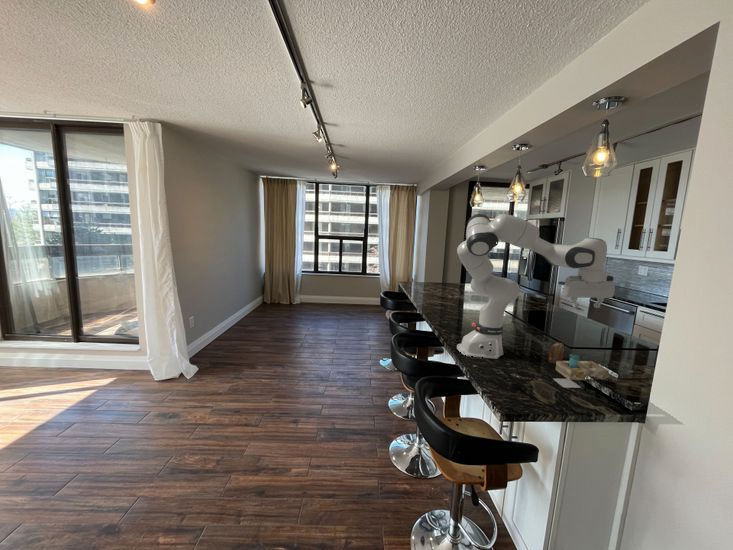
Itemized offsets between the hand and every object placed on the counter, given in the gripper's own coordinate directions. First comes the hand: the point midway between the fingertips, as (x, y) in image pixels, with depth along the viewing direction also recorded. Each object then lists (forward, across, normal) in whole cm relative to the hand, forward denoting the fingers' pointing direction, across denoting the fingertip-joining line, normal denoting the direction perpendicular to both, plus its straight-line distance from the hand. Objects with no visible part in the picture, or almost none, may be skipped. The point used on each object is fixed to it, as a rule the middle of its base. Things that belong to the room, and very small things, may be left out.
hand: (585, 307), depth 130 cm
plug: (+28, -7, -6) cm, 29 cm away
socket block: (+29, -3, -6) cm, 30 cm away
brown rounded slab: (+29, -4, +9) cm, 31 cm away
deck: (+29, -14, -13) cm, 35 cm away
